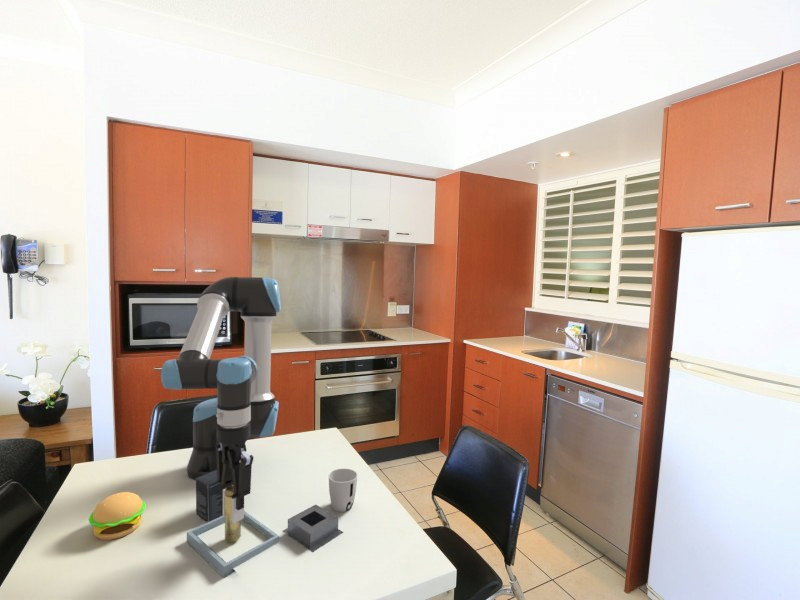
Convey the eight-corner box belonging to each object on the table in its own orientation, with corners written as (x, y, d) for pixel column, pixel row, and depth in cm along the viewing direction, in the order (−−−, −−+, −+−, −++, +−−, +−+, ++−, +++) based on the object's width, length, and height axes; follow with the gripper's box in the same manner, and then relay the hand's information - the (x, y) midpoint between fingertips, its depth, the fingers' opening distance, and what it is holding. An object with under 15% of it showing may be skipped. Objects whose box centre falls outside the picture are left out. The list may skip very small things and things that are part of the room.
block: (282, 534, 104) (282, 517, 104) (313, 517, 112) (313, 501, 112) (312, 556, 97) (313, 537, 96) (343, 536, 104) (344, 519, 104)
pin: (221, 537, 100) (222, 489, 99) (235, 530, 102) (236, 484, 102) (229, 543, 97) (230, 495, 97) (243, 536, 100) (244, 489, 100)
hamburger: (86, 550, 96) (85, 515, 96) (91, 523, 106) (91, 491, 106) (146, 534, 103) (145, 501, 102) (146, 510, 113) (145, 480, 112)
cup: (351, 519, 112) (352, 484, 111) (323, 515, 113) (324, 480, 113) (360, 503, 120) (361, 470, 119) (333, 499, 121) (334, 466, 120)
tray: (186, 541, 100) (186, 532, 100) (239, 516, 111) (239, 507, 111) (224, 577, 89) (224, 566, 89) (279, 545, 100) (279, 536, 100)
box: (230, 498, 120) (230, 463, 120) (243, 505, 116) (244, 470, 116) (194, 514, 112) (194, 477, 111) (207, 523, 108) (207, 485, 107)
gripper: (201, 418, 100) (201, 510, 102) (237, 437, 90) (236, 539, 92) (230, 411, 106) (229, 498, 108) (267, 427, 96) (266, 523, 97)
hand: (233, 516), depth 100 cm, fingers closed on pin, 4 cm apart
